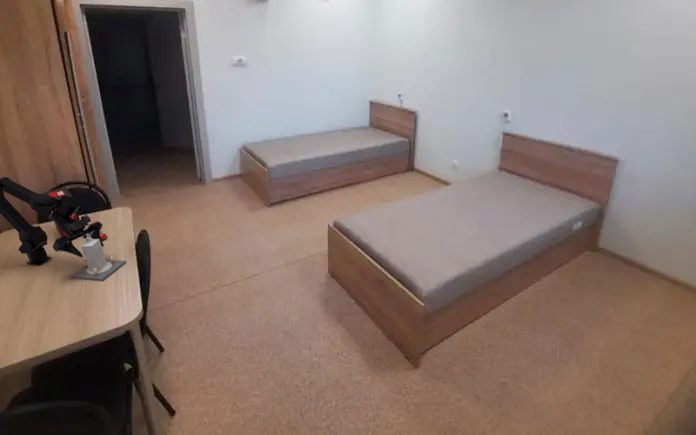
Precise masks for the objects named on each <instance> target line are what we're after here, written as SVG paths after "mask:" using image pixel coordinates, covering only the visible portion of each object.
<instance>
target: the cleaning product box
mask: <svg viewBox="0 0 696 435" xmlns="http://www.w3.org/2000/svg"><path fill="white" fill-rule="evenodd" d="M43 194H46V195H49V196H52V197H54V198H56V199H61V197H62V196H64V195H67V196H68V197H73V196H72V194H71V193H70V191H69V190H68V189H67V188H66V187H62V188H56V189H52V190H48V191H43ZM56 210H57V209H56ZM54 211H55V210H54ZM54 211H52V212H50V214H52V213H53V212H54ZM71 217H72V218H73V219H75V218H76V219H77V220H81V217H80V215H79V213H78V210H77V211H76V212H75V213H74V214H73V215H72V216H71ZM53 222H54V221H53ZM54 225H55V229H56V230H57V232H58V234H59V235H61V236H60V238H61V237H63V236H66V237H67V238H68V236H67V235H66V234H65V233H64V232H61V231H60V230H61V228H60V227H59V226H58V225H57V224H56V223H55V222H54ZM80 235H81V234H80Z"/></svg>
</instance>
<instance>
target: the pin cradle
mask: <svg viewBox="0 0 696 435" xmlns="http://www.w3.org/2000/svg"><path fill="white" fill-rule="evenodd" d="M105 259H106V262H107V264H106V265H105V266H104V267H103V268H102V270H101V271H97V268H94V269H93V271H92V272H91V271H90V270H89V267H88V264H87V261H86V259H85V260H83V263H84V266H83V267H82V268H80V269H79V270H77V271H76V272H74V273H73V274H72V275H70V276H71V278H72V279H78V280H86V281H87V280H89V281H95V282H96V281H98V282H104V281H105V280H107V278H109V277H110V276H112V274H114V273H116V272H117V271H118V270H119V269H120V268H122V267H123V266H124V265H126V264H127V260H120V259H119V260H118V259H115V258H114V255H111V256H110V258H105Z"/></svg>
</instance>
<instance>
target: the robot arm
mask: <svg viewBox="0 0 696 435" xmlns="http://www.w3.org/2000/svg"><path fill="white" fill-rule="evenodd" d="M5 193H6V194H8V195H10V196H13V197H15V198H17V199H18V200H20V201H22V202H24V203H26V204H28V205H29V206H30V209H32V210H33V211H35V212H36V213H37V214H39V215H42V216H45V215H47V214H48V220H47V222H55V223H56V224H57V225H58V226H59V227H60V228H61V230H60V231H61V232H64V233H65V234H66V235H67V236H68V238H67V237H66V236H63V237H61V236H60V237H59V238H57V239H55V240H54V242H53V244H52V249H53V250H54V251H55V252H59V251H60V252H66V253H69V254H72V255H74V256H77V257H79V258H83V257H84V254H83V253H81V251H80V250H79V249H78V248H77V247H75V245H74V244H73V241H75V240H77V239H79V238H82V237H83V236H84V235H86V234H89V235H91V238H92V239H99V240H100V243H101V246H102V248H103V247H104V242H103V240H102V239H101V237H100V231H102V230H101V229H102V228H103V226H104V225H103V223H101V222H100V221H95V222H92V219H91V218H90V216H88V214H85V215H82V216H80V220H77V219H76V218H75V219H73V218H72V217H71V216H72V215H73V214H74V213H75V212H76V211H77V212H78V209H79V208H80V207H81V205H82V204H81V201H80V199H79V198H76V197H74V196H72V197H68V196H67V195H64V196H62V197H61V199H56V198H54V197H52V196H49V195H46V194H44V193H37V192H36V191H33V190H31V189H29V188H28V187H25V186H23V185H21V184H19V183H17V182H15V181H13V180H12V179H10V178H9V177H8V176H2V177H0V215H1V216H3V218H4V219H5V220H6V221H7V223H9V224H10V225H11V226H12V228H13V229H15V231H16V232H17V233H18V238H19V241H20V243H21V245H20V246H19V247H18V251H19V253H21V254H26V256H27V259H28V261H27V262H26V265H30V266H31V265H32V266H41V265H43V264H44V263H46V262H47V261H49V260H51V259H52V256H48V253H47V251H46V250H45V246H46V245H48V240H49V239H48V234H47V232H46V231H45V230H43V228H42V227H41V226H40V225H37V226H35V225H32V224H30V223H29V221H28V220H26V218H25V217H24V216H23V215H22V214H21V213H20V212H19V211H18V210H17V208H16V207H15V206H14V205H12V203H11V202H10V201H9V200H8V199H7V198H6V197H5ZM56 209H57V210H56ZM54 210H55V211H54ZM52 211H54V212H53V213H52V214H51V212H52ZM49 213H50V214H49ZM90 222H92V223H90ZM55 223H54V224H55ZM89 223H90V224H89ZM86 226H88V227H86ZM80 234H81V235H80Z"/></svg>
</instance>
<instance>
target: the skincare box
mask: <svg viewBox="0 0 696 435" xmlns="http://www.w3.org/2000/svg"><path fill="white" fill-rule="evenodd" d="M81 249H82V252H83V256H84V258H85V260H86V261H87V264H88V267H89V270H90V271H91V272H92V271H93V269H94V268H97V271H101V270H102V268H103V267H104V266H105V265H106V264H107V262H106V259H107V258H106V256H105V253H104V250H103V247H102V246H101V243H100V240H99V239H89V240H88V241H87V240H86V241H85V243H84V244H82V245H81Z"/></svg>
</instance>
